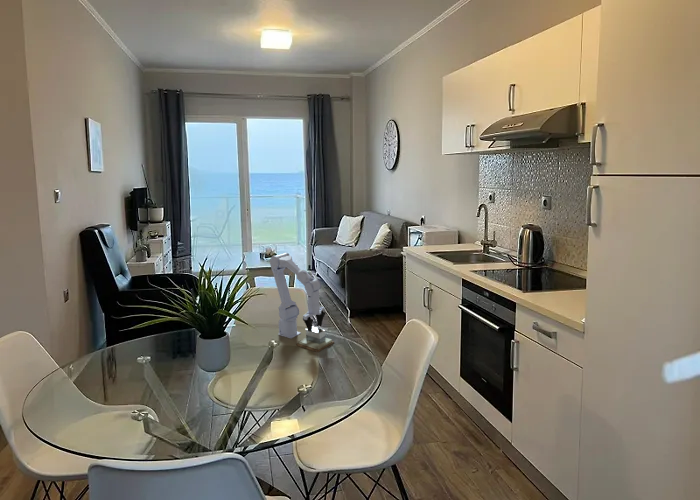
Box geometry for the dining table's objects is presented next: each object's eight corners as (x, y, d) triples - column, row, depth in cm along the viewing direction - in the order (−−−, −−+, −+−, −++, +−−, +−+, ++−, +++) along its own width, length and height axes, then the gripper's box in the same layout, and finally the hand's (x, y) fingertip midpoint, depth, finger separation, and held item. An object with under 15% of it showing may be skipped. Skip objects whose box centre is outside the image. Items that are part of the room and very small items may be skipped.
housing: (319, 344, 257) (319, 333, 256) (306, 340, 262) (305, 329, 261) (325, 341, 261) (325, 330, 259) (311, 337, 266) (311, 326, 264)
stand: (296, 345, 261) (296, 341, 261) (313, 336, 271) (312, 332, 271) (318, 352, 253) (317, 348, 253) (334, 342, 263) (334, 339, 263)
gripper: (310, 309, 249) (311, 335, 252) (328, 300, 260) (329, 325, 264) (299, 306, 253) (300, 331, 256) (318, 297, 264) (319, 322, 268)
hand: (314, 328), depth 260 cm, fingers open, 7 cm apart
